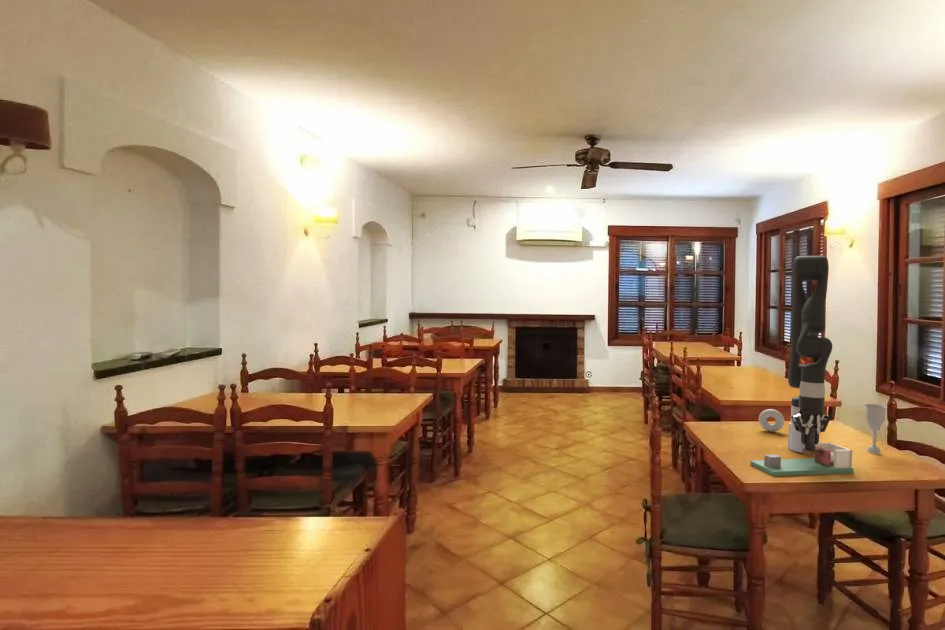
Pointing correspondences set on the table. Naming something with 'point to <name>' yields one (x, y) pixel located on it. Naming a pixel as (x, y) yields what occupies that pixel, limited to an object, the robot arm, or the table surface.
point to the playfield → (795, 466)
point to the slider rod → (817, 449)
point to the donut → (771, 413)
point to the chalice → (875, 423)
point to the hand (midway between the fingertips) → (809, 443)
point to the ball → (832, 458)
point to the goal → (838, 454)
